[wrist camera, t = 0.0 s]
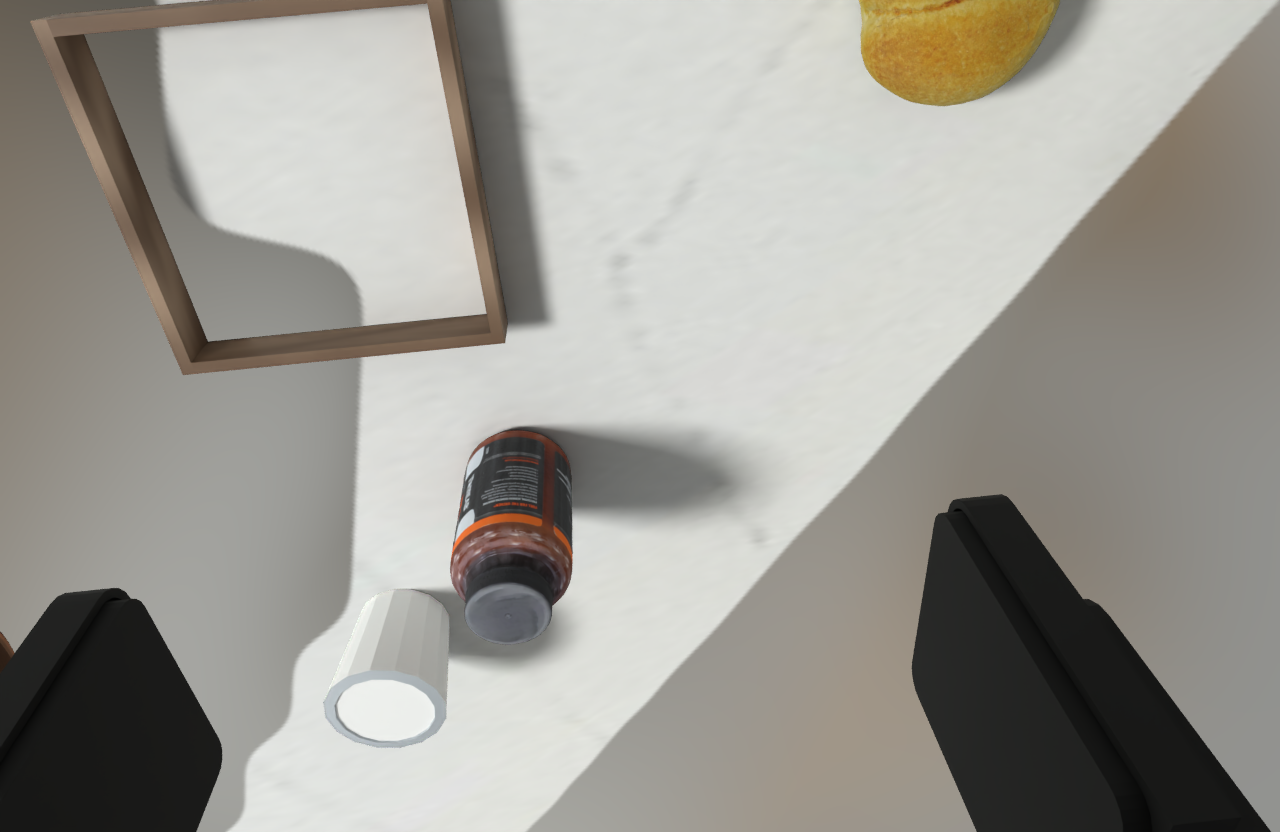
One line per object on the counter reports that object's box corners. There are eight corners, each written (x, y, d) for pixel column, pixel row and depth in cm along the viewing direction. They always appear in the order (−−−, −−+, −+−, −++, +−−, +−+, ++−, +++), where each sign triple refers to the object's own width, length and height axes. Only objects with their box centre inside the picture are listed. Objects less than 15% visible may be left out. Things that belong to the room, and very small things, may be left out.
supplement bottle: (446, 450, 46) (414, 596, 36) (540, 409, 45) (534, 548, 35) (499, 523, 49) (483, 675, 40) (589, 486, 48) (594, 633, 39)
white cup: (423, 671, 55) (405, 764, 50) (329, 629, 53) (300, 722, 47) (480, 611, 53) (470, 702, 47) (386, 564, 50) (362, 654, 44)
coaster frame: (60, 13, 33) (30, 21, 31) (446, -21, 34) (439, -16, 32) (200, 353, 42) (183, 375, 40) (507, 323, 42) (505, 343, 40)
